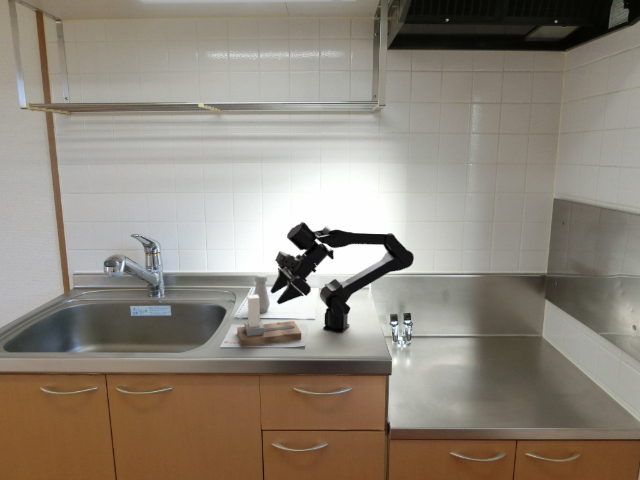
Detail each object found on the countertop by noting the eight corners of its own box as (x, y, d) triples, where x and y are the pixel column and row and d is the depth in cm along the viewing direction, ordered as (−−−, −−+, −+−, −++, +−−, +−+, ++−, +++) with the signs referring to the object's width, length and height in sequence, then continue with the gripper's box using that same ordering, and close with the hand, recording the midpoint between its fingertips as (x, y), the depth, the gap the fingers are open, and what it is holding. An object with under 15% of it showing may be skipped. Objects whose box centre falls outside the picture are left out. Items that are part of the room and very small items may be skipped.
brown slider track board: (293, 326, 142) (293, 320, 141) (301, 338, 133) (301, 332, 133) (237, 333, 136) (237, 326, 136) (241, 346, 128) (241, 339, 128)
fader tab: (260, 325, 137) (260, 292, 134) (264, 334, 131) (263, 299, 128) (244, 327, 135) (243, 293, 132) (247, 336, 129) (246, 300, 127)
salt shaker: (268, 313, 151) (268, 277, 148) (251, 313, 151) (251, 277, 148) (270, 307, 157) (270, 272, 154) (254, 307, 157) (253, 272, 154)
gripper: (284, 235, 139) (250, 271, 138) (300, 250, 122) (261, 292, 121) (308, 258, 143) (275, 293, 142) (326, 275, 126) (288, 315, 125)
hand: (274, 297), depth 133 cm, fingers open, 9 cm apart
